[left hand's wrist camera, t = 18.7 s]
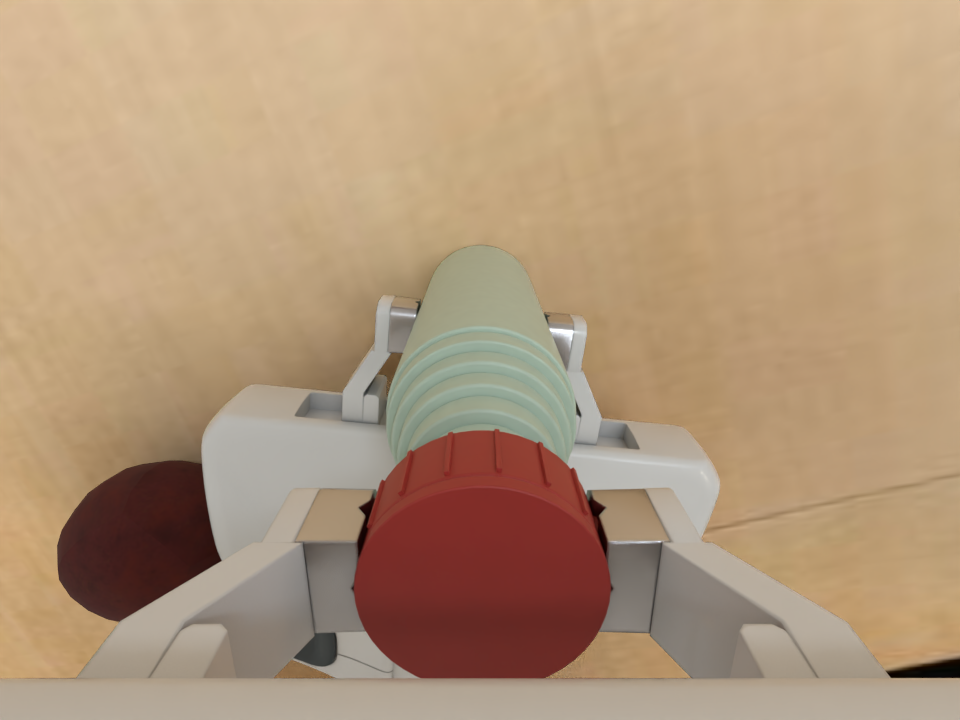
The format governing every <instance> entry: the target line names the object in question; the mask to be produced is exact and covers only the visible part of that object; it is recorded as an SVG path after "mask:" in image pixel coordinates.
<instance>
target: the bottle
mask: <svg viewBox="0 0 960 720" xmlns="http://www.w3.org/2000/svg"><path fill="white" fill-rule="evenodd" d="M494 429H499V430H500V432H506V433H510V434H514V435H518V436H521V437H524V438H527V439H529V440H532V441H534V442H536V443H538V442H539V441H540V442H542V443H543V445H544V447H545V448H547V449H548V450H550V451H551V452H553V453H554V454H556V455H557V456H558V457H559V458H560V459H561V460H563V461H564V462H565V463H566V464H568V460H569V457H570V454H571V452H572V449H573V446H574V442H575V436H576V401H575V396H574V391H573V388H572V385H571V382H570V379H569V377H568V374H567V372H566V369H565V367H564V364H563V362H562V359H561V356H560V354H559V351H558V349H557V346H556V344H555V341H554V339H553V336H552V334H551V331H550V329H549V326H548V324H547V321H546V319H545V316H544V313H543V311H542V308H541V306H540V303H539V301H538V298H537V296H536V293H535V291H534V288H533V286H532V283H531V281H530V278H529V276H528V274H527V272H526V270H525V269H524V267H523V266H522V265H521V263H520V262H519V261H518V260H517V259H516V258H514V257H513V256H512V255H510V254H509V253H507V252H506V251H503V250H501V249H499V248H496V247H492V246H485V245H476V246H469V247H465V248H462V249H460V250H458V251H456V252H454V253H452V254H451V255H449V256H448V257H446V258H445V259H444V260H443V261H442V262H441V263H440V265H439V266H438V267H437V269H436V270H435V272H434V274H433V276H432V278H431V281H430V283H429V286H428V289H427V291H426V294H425V296H424V299H423V302H422V304H421V307H420V310H419V312H418V315H417V317H416V320H415V323H414V325H413V328H412V331H411V333H410V336H409V338H408V341H407V344H406V346H405V349H404V352H403V354H402V357H401V359H400V362H399V365H398V367H397V370H396V373H395V375H394V378H393V380H392V383H391V386H390V390H389V393H388V398H387V405H386V432H387V439H388V444H389V447H390V450H391V453H392V456H393V458H394V461H395V464H396V465H397V464H398V463H399V462H401V461H402V460H403V459H404V458H405V457H406V456H407V452H408V451H409V450H412V451H414V450H416V449H417V448H419V447H421V446H423V445H425V444H426V443H428V442H430V441H432V440H435V439H438V438H440V437H443V436H446V435H448V433H449V432H453V433H458V432H465V431H473V430H490V431H494Z"/></svg>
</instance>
